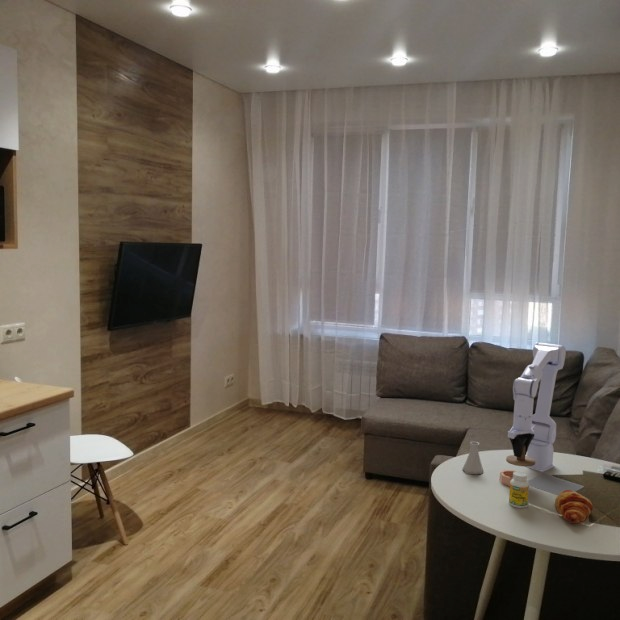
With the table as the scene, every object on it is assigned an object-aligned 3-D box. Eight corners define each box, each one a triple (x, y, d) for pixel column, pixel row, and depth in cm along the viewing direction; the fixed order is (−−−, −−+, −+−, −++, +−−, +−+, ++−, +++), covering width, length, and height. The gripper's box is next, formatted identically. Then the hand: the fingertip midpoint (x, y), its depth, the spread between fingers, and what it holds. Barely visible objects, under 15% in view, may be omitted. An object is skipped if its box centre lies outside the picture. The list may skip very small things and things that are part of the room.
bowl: (507, 477, 205) (507, 468, 205) (527, 483, 200) (528, 475, 200) (495, 482, 200) (496, 473, 200) (516, 489, 195) (516, 480, 195)
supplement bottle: (527, 502, 185) (529, 472, 184) (527, 509, 180) (530, 478, 179) (508, 499, 187) (510, 469, 186) (508, 506, 182) (510, 475, 181)
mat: (543, 474, 209) (543, 473, 209) (584, 487, 198) (584, 486, 198) (523, 484, 199) (523, 483, 199) (565, 498, 189) (565, 497, 189)
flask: (481, 468, 213) (483, 440, 212) (485, 475, 206) (487, 447, 205) (460, 466, 214) (462, 439, 213) (463, 474, 206) (465, 445, 205)
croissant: (560, 508, 190) (549, 484, 191) (593, 499, 187) (581, 474, 187) (562, 536, 170) (550, 509, 171) (599, 526, 167) (586, 499, 168)
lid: (513, 455, 205) (513, 440, 205) (539, 461, 199) (540, 445, 199) (501, 461, 198) (502, 446, 198) (528, 468, 192) (529, 452, 192)
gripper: (523, 421, 190) (520, 463, 191) (545, 414, 199) (542, 454, 201) (502, 416, 195) (499, 457, 196) (525, 409, 205) (522, 448, 206)
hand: (519, 455), depth 199 cm, fingers closed on lid, 3 cm apart
